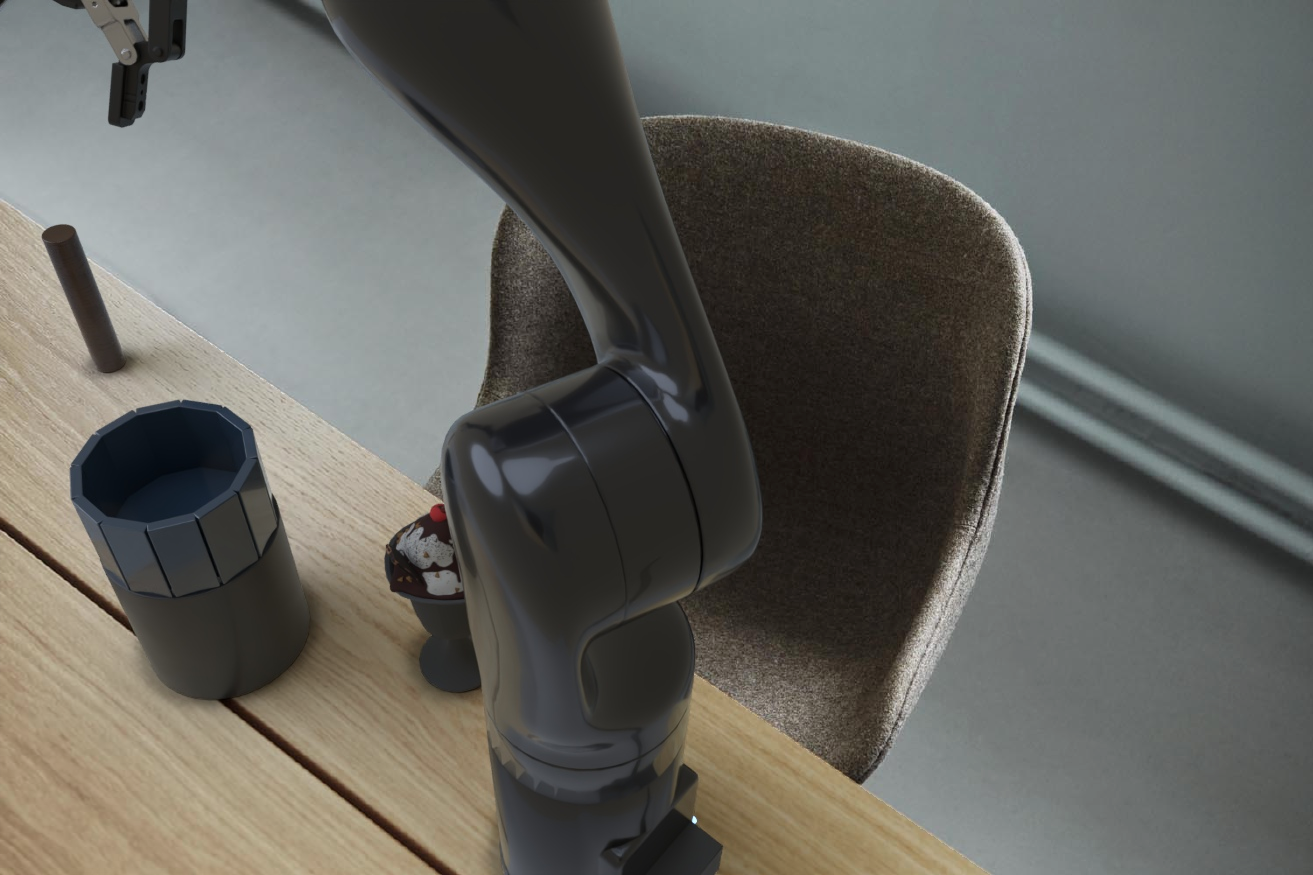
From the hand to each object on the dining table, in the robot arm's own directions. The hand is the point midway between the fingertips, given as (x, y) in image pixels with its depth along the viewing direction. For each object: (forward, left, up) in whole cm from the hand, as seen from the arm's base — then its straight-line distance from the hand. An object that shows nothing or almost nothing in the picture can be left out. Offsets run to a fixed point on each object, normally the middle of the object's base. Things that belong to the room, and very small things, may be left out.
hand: (51, 106), depth 69 cm
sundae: (-35, +2, -23) cm, 42 cm away
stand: (-23, +10, -23) cm, 34 cm away
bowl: (-23, +10, -13) cm, 28 cm away
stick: (+4, +1, -23) cm, 23 cm away
